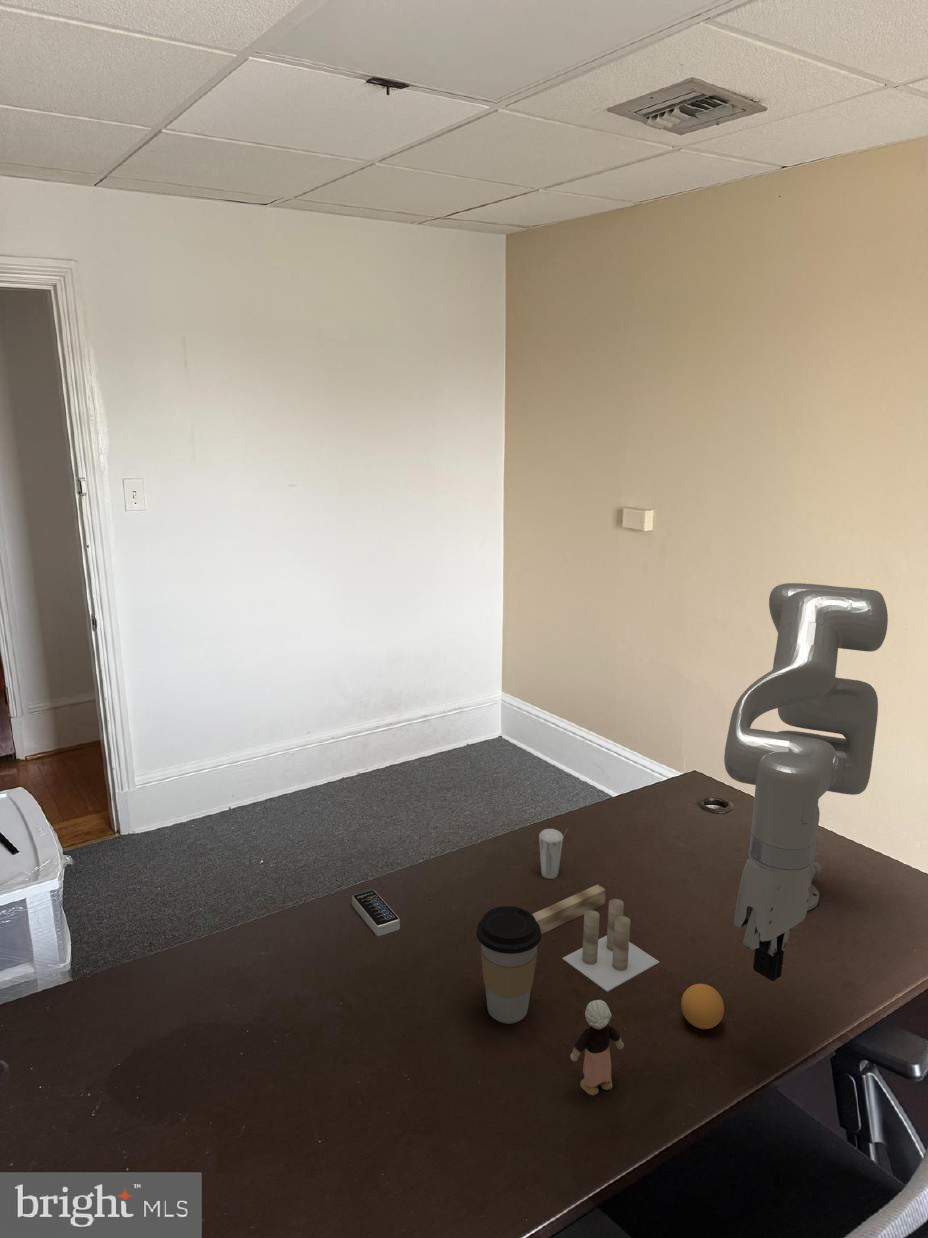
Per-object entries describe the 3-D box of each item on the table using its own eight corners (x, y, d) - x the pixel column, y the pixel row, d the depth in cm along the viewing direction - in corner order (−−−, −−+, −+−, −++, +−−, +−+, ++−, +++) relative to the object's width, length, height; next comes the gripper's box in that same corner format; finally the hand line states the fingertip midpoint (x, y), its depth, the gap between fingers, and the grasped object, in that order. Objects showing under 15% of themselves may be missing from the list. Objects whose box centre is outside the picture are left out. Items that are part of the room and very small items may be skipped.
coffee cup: (545, 997, 130) (548, 910, 127) (529, 1039, 122) (532, 947, 118) (486, 983, 133) (487, 898, 130) (466, 1024, 125) (467, 933, 121)
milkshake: (564, 882, 161) (566, 834, 159) (536, 879, 162) (538, 831, 160) (566, 870, 166) (568, 823, 163) (539, 867, 167) (540, 820, 164)
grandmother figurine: (605, 1065, 117) (610, 984, 114) (625, 1083, 114) (630, 1001, 111) (561, 1088, 113) (565, 1006, 110) (580, 1108, 110) (584, 1023, 107)
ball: (697, 1004, 129) (700, 969, 128) (730, 1027, 124) (734, 991, 123) (671, 1020, 126) (674, 985, 124) (704, 1044, 121) (707, 1008, 119)
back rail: (596, 899, 156) (597, 884, 155) (604, 904, 155) (605, 889, 154) (503, 942, 143) (503, 927, 143) (511, 948, 142) (511, 932, 141)
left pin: (589, 954, 140) (591, 908, 138) (600, 962, 139) (602, 915, 137) (579, 960, 139) (581, 913, 137) (589, 967, 137) (591, 921, 135)
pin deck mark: (613, 932, 146) (613, 931, 146) (659, 962, 139) (659, 961, 139) (562, 959, 139) (562, 958, 139) (607, 992, 132) (607, 991, 132)
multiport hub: (377, 939, 145) (377, 927, 144) (351, 907, 154) (351, 895, 153) (400, 931, 147) (400, 919, 147) (373, 900, 156) (373, 888, 156)
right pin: (613, 942, 144) (616, 897, 142) (624, 949, 142) (626, 904, 140) (603, 947, 142) (605, 902, 140) (613, 954, 140) (616, 909, 138)
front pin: (619, 960, 139) (622, 914, 137) (630, 968, 137) (633, 921, 135) (609, 966, 138) (611, 919, 136) (620, 974, 136) (623, 926, 134)
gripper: (788, 821, 117) (775, 940, 121) (719, 853, 108) (708, 980, 112) (839, 843, 111) (824, 967, 115) (771, 879, 102) (757, 1012, 107)
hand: (766, 973), depth 114 cm, fingers closed
